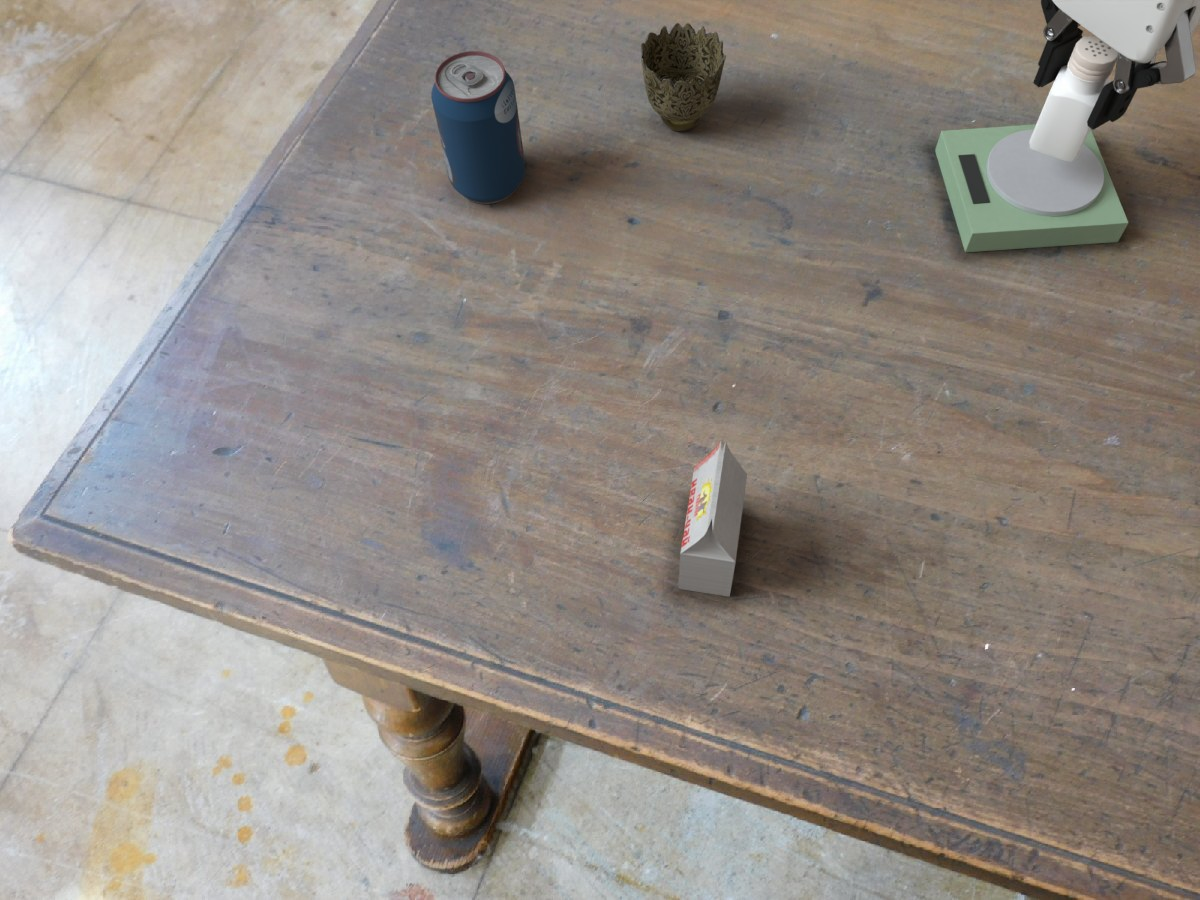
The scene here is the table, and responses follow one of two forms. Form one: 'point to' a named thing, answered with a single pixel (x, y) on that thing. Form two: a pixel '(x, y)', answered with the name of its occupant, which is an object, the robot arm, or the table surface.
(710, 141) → the table surface
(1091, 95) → the pepper shaker
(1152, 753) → the table surface
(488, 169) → the soda can
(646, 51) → the cup
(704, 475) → the grey upright carton
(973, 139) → the kitchen scale
